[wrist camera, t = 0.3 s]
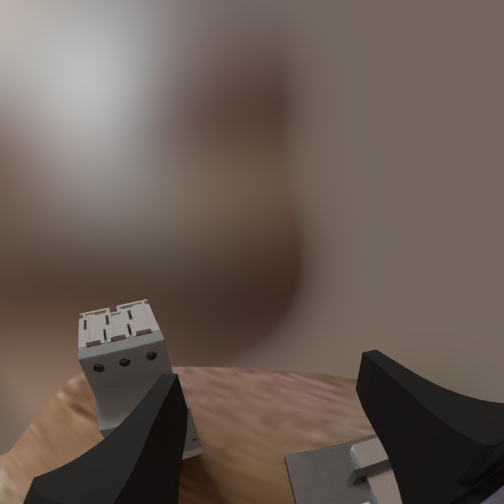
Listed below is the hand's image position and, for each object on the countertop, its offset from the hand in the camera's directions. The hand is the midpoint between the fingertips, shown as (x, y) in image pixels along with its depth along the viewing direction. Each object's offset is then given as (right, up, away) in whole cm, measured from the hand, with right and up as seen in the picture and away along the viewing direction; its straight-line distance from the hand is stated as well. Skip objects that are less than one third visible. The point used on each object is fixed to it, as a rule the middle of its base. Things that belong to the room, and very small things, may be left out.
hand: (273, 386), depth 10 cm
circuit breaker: (-11, -17, +15) cm, 25 cm away
